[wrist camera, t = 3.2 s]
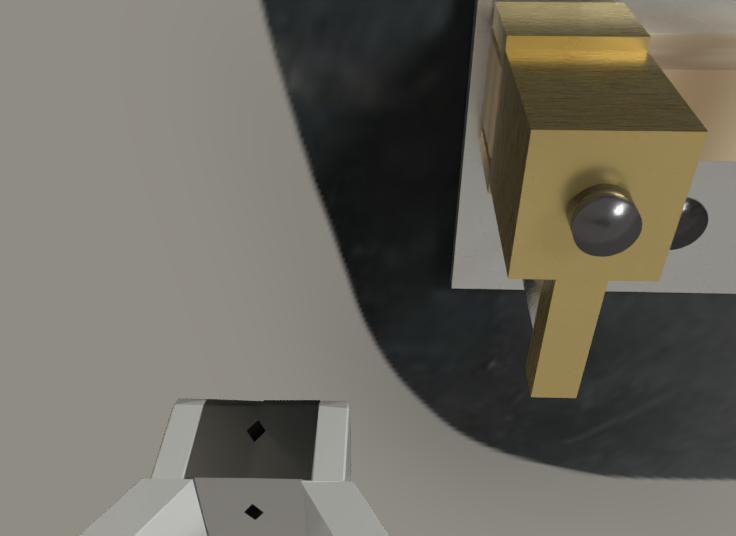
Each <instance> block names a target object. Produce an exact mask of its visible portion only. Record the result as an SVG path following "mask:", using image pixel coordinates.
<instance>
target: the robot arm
mask: <svg viewBox="0 0 736 536" xmlns="http://www.w3.org/2000/svg"><path fill="white" fill-rule="evenodd" d="M79 536H389V535H388V534H387V532H386V531H385V529H384V528H383V526H382V525H381V523H380V522H379V520H378V519H377V517H376V516H375V514H374V512H373V511H372V509H371V508H370V506H369V505H368V503H367V502H366V500H365V499H364V497H363V496H362V494H361V493H360V491H359V490H358V488H357V486H356V485H355V483H354V482H351V432H350V404H349V401H320V400H264V401H243V400H217V399H178V400H177V401H176V403H175V404H174V406H173V408H172V411H171V414H170V418H169V421H168V424H167V427H166V431H165V433H164V437H163V440H162V443H161V446H160V449H159V452H158V456H157V459H156V462H155V465H154V468H153V472H152V475H151V478H142V479H141V480H139V481H138V483H136V484H135V485H134V486H133V487H132V488H131V489H130V490H129V491H127V492H126V493H125V494H124V495H123V496H122V497H121V498H120V499H119V500H118V501H116V502H115V503H114V504H113V505H112V506H111V507H110V508H109V509H108V510H107V511H105V512H104V513H103V514H102V515H101V516H100V517H99V518H98V519H97V520H96V521H94V522H93V524H91V525H90V526H89V527H88V528H87V529H86V530H85V531H84V532H82V533H81V534H80V535H79Z"/></svg>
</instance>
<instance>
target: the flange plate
mask: <svg viewBox="0 0 736 536" xmlns="http://www.w3.org/2000/svg"><path fill="white" fill-rule="evenodd" d="M495 2H608V3H625V5H626V6H627V7H628V8H629V10H630V11H631V12H632V13H633V15H634V16H635V17H636V19H637V20H638V21H639V22H640V24H641V25H642V26H643V27H644V29H645V30H646V31H647V32H648V33H669V34H736V0H475V7H474V18H473V29H472V40H471V51H470V63H469V74H468V85H467V96H466V107H465V119H464V130H463V141H462V152H461V163H460V174H459V186H458V197H457V208H456V219H455V230H454V242H453V253H452V264H451V275H450V278H451V288H460V289H513V290H524V286H523V281H522V279H508V276H507V271H506V266H505V261H504V256H503V251H502V246H501V241H500V236H499V230H498V225H497V220H496V215H495V210H494V205H493V200H492V195H491V194H488V191H487V186H486V181H485V175H484V170H483V165H482V160H481V154H480V140H481V131H482V129H484V126H483V121H482V106H483V97H484V87H485V78H486V68H487V59H488V49H489V40H490V32H494V30H493V19H494V9H495ZM605 291H619V292H672V293H725V294H736V161H699V162H698V165H697V168H696V171H695V174H694V177H693V180H692V183H691V186H690V189H689V192H688V195H687V198H686V201H685V204H684V207H683V210H682V213H681V217H680V220H679V223H678V226H677V229H676V232H675V235H674V238H673V241H672V244H671V247H670V250H669V253H668V256H667V259H666V262H665V265H664V268H663V271H662V274H661V277H660V280H659V282H653V281H608V283H607V287H606V290H605Z"/></svg>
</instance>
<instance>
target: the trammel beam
mask: <svg viewBox="0 0 736 536" xmlns="http://www.w3.org/2000/svg"><path fill="white" fill-rule="evenodd" d="M648 34H649V35H650V36H651V40H650V44H649V48H648V52H649V53H650V55H651V56H652V57H653V59H654V60H655V61H656V63H657V64H658V65H659V67H660V68H661V69H662V71H663V72H664V73H665V75H666V76H667V77H668V79H669V80H670V81H671V83H672V84H673V85H674V87H675V88H676V89H677V91H678V92H679V93H680V95H681V96H682V97H683V99H684V100H685V101H686V103H687V104H688V105H689V107H690V108H691V109H692V111H693V112H694V113H695V115H696V116H697V117H698V119H699V120H700V121H701V123H702V124H703V125H704V127H705V128H706V129H707V131H708V135H707V138H706V141H705V144H704V147H703V150H702V153H701V156H700V159H699V161H736V34H669V33H648ZM502 69H503V60H502V56H501V53H500V50H499V46H498V43H497V40H496V37H495V33H494V32H490V40H489V49H488V59H487V68H486V78H485V87H484V97H483V106H482V121H483V126H484V131H485V135H486V140H487V145H488V150H489V154H490V158H492V152H493V143H494V135H495V127H496V118H497V110H498V102H499V94H500V85H501V77H502Z"/></svg>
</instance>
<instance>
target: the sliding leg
mask: <svg viewBox="0 0 736 536" xmlns="http://www.w3.org/2000/svg"><path fill="white" fill-rule="evenodd" d="M493 30H494V33H495V37H496V40H497V43H498V46H499V50H500V53H501V56H502V60H503V69H502V77H501V85H500V94H499V102H498V110H497V118H496V127H495V135H494V143H493V152H492V158H490V154H489V150H488V145H487V140H486V135H485V131H484V129H482V131H481V140H480V154H481V160H482V165H483V170H484V175H485V181H486V186H487V191H488V194H491V195H492V200H493V205H494V210H495V215H496V220H497V225H498V230H499V236H500V241H501V246H502V251H503V256H504V261H505V266H506V271H507V276H508V279H522V281H523V286H524V290H525V295H526V299H527V304H528V308H529V313H530V317H531V322H532V326H533V333H532V338H531V343H530V348H529V353H528V358H527V363H526V368H525V369H526V374H527V380H528V385H529V390H530V395H531V397H550V398H576V397H577V394H578V390H579V386H580V382H581V379H582V375H583V371H584V368H585V364H586V360H587V357H588V353H589V349H590V346H591V342H592V338H593V335H594V331H595V327H596V324H597V320H598V316H599V313H600V309H601V305H602V302H603V298H604V294H605V290H606V287H607V283H608V281H653V282H659V280H660V277H661V274H662V271H663V268H664V265H665V262H666V259H667V256H668V253H669V250H670V247H671V244H672V241H673V238H674V235H675V232H676V229H677V226H678V223H679V220H680V217H681V213H682V210H683V207H684V204H685V201H686V198H687V195H688V192H689V189H690V186H691V183H692V180H693V177H694V174H695V171H696V168H697V165H698V162H699V159H700V156H701V153H702V150H703V147H704V144H705V141H706V138H707V135H708V131H707V129H706V128H705V127H704V125H703V124H702V123H701V121H700V120H699V119H698V117H697V116H696V115H695V113H694V112H693V111H692V109H691V108H690V107H689V105H688V104H687V103H686V101H685V100H684V99H683V97H682V96H681V95H680V93H679V92H678V91H677V89H676V88H675V87H674V85H673V84H672V83H671V81H670V80H669V79H668V77H667V76H666V75H665V73H664V72H663V71H662V69H661V68H660V67H659V65H658V64H657V63H656V61H655V60H654V59H653V57H652V56H651V55H650V53H649V52H648V48H649V44H650V40H651V36H650V35H649V34H648V32H647V31H646V30H645V29H644V27H643V26H642V25H641V24H640V22H639V21H638V20H637V19H636V17H635V16H634V15H633V13H632V12H631V11H630V10H629V8H628V7H627V6H626V5H625V3H608V2H495V9H494V19H493Z"/></svg>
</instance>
